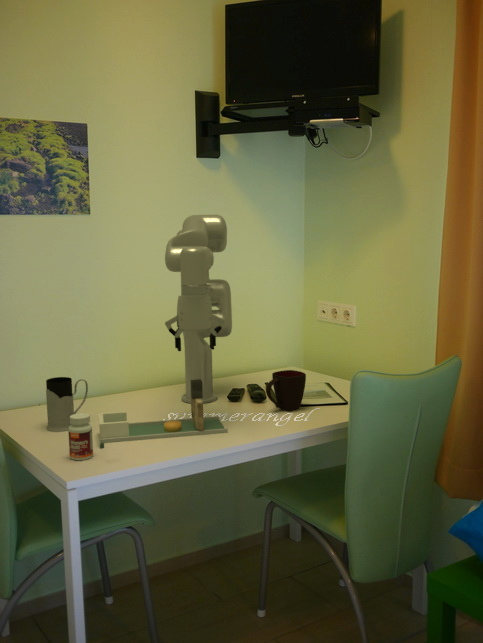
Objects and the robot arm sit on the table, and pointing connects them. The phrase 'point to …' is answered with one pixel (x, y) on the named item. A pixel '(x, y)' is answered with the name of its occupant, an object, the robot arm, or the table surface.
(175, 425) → the yellow domed round part
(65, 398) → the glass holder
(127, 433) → the pitch
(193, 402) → the striker
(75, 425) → the pill bottle
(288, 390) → the cup
